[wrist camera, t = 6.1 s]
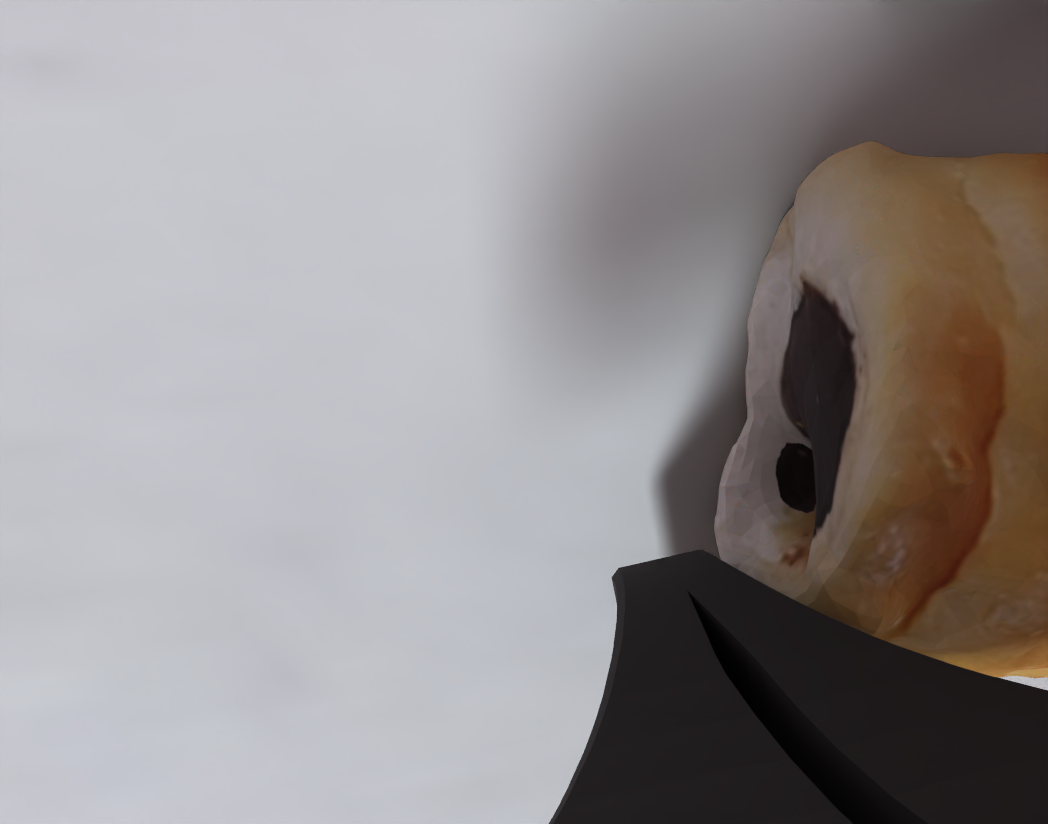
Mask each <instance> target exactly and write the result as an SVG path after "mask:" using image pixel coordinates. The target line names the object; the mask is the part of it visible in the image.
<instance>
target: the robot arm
mask: <svg viewBox="0 0 1048 824" xmlns="http://www.w3.org/2000/svg"><path fill="white" fill-rule="evenodd" d="M612 581H613V586H614V591H615V596H616V602H617V623H616V631H615V639H614V648H613V654H612V659H611V664H610V668H609V672H608V677H607V681H606V685H605V690H604V694H603V698H602V701H601V704H600V708H599V711H598V714H597V717H596V720H595V723H594V726H593V729H592V732H591V735H590V737H589V740H588V743H587V745H586V748H585V750H584V753H583V755H582V758H581V760H580V762H579V764H578V766H577V769H576V771H575V773H574V775H573V778H572V780H571V782H570V784H569V787H568V789H567V791H566V793H565V795H564V797H563V799H562V801H561V803H560V805H559V807H558V808H557V810H556V812H555V814H554V816H553V818H552V819H551V821H550V822H549V824H1048V691H1047V690H1043V689H1040V688H1036V687H1032V686H1028V685H1024V684H1020V683H1016V682H1013V681H1009V680H1005V679H1001V678H997V677H993V676H989V675H986V674H982V673H979V672H976V671H972V670H969V669H966V668H962V667H959V666H956V665H952V664H949V663H946V662H944V661H941V660H938V659H935V658H932V657H929V656H926V655H923V654H920V653H917V652H915V651H912V650H909V649H906V648H903V647H900V646H897V645H895V644H892V643H889V642H887V641H884V640H882V639H879V638H877V637H874V636H872V635H869V634H867V633H865V632H862V631H860V630H858V629H856V628H853V627H851V626H849V625H846V624H844V623H842V622H840V621H837V620H835V619H833V618H830V617H828V616H826V615H824V614H822V613H820V612H818V611H816V610H814V609H812V608H809V607H807V606H805V605H803V604H801V603H799V602H797V601H795V600H793V599H791V598H790V597H788V596H786V595H784V594H782V593H780V592H778V591H776V590H774V589H772V588H771V587H769V586H767V585H765V584H763V583H761V582H760V581H758V580H756V579H754V578H752V577H751V576H749V575H747V574H745V573H743V572H742V571H740V570H738V569H736V568H735V567H733V566H731V565H729V564H728V563H726V562H724V561H722V560H720V559H719V558H717V557H715V556H713V555H711V554H710V553H708V552H706V551H704V550H702V549H701V550H696V551H692V552H687V553H683V554H679V555H674V556H670V557H665V558H661V559H657V560H652V561H648V562H643V563H639V564H635V565H630V566H626V567H621V568H618V570H617V571H616V573H615V574H614V575H613V577H612Z"/></svg>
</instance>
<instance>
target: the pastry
mask: <svg viewBox="0 0 1048 824" xmlns="http://www.w3.org/2000/svg"><path fill="white" fill-rule="evenodd" d="M747 328H748V339H749V352H748V358H747V365H746V371H745V377H746V402H747V421H746V423H745V425H744V428H743V430H742V432H741V434H740V436H739V438H738V441H737V443H736V444H735V445H733V447H732V449H731V452H730V454H729V456H728V459H727V461H726V464H725V466H724V470H723V474H722V478H721V481H720V485H719V497H718V506H717V513H716V517H715V524H714V532H715V538H716V543H717V547H718V551H719V555H720V559H721V560H722V561H724V562H726V563H728V564H729V565H731V566H733V567H735V568H736V569H738V570H740V571H742V572H743V573H745V574H747V575H749V576H751V577H752V578H754V579H756V580H758V581H760V582H761V583H763V584H765V585H767V586H769V587H771V588H772V589H774V590H776V591H778V592H780V593H782V594H784V595H786V596H788V597H790V598H791V599H793V600H795V601H797V602H799V603H801V604H803V605H805V606H807V607H809V608H812V609H814V610H816V611H818V612H820V613H822V614H824V615H826V616H828V617H830V618H833V619H835V620H837V621H840V622H842V623H844V624H846V625H849V626H851V627H853V628H856V629H858V630H860V631H862V632H865V633H867V634H869V635H872V636H874V637H877V638H879V639H882V640H884V641H887V642H889V643H892V644H895V645H897V646H900V647H903V648H906V649H909V650H912V651H915V652H917V653H920V654H923V655H926V656H929V657H932V658H935V659H938V660H941V661H944V662H946V663H949V664H952V665H956V666H959V667H962V668H966V669H969V670H972V671H976V672H979V673H982V674H986V675H989V676H993V677H1006V676H1024V677H1031V678H1042V677H1048V153H1024V154H1012V153H996V154H989V155H982V156H975V157H925V156H914V155H907V154H902V153H900V152H898V151H895V150H893V149H891V148H889V147H887V146H884V145H882V144H880V143H878V142H875V141H866V142H863V143H861V144H858V145H855V146H853V147H850V148H847V149H845V150H842V151H840V152H837V153H835V154H833V155H831V156H830V157H828V158H827V159H826V160H824V161H823V162H822V163H820V164H819V165H818V166H817V167H816V168H815V169H814V170H813V171H812V172H811V173H810V174H809V175H808V176H807V177H806V178H805V180H804V181H803V182H802V183H801V185H800V186H799V187H798V190H797V194H796V198H795V201H794V206H793V207H792V208H791V209H790V210H789V211H788V212H787V213H786V214H785V216H784V217H783V219H782V221H781V222H780V225H779V227H778V230H777V233H776V235H775V238H774V240H773V242H772V245H771V247H770V250H769V252H768V254H767V256H766V258H765V260H764V263H763V265H762V268H761V272H760V275H759V279H758V283H757V286H756V290H755V293H754V297H753V301H752V305H751V309H750V314H749V318H748V322H747Z"/></svg>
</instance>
